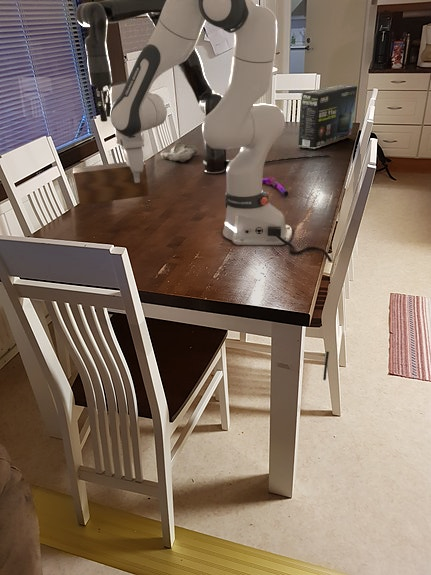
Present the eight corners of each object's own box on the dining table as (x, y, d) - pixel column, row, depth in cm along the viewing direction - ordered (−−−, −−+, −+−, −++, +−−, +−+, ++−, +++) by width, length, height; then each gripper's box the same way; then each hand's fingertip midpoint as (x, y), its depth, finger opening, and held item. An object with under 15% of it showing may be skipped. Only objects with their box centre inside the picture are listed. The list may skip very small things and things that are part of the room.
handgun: (255, 182, 193) (255, 177, 192) (273, 180, 195) (273, 175, 194) (269, 198, 176) (269, 193, 175) (289, 195, 177) (289, 191, 176)
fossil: (184, 156, 217) (163, 136, 220) (174, 174, 223) (154, 154, 227) (205, 153, 231) (186, 134, 234) (195, 171, 237) (176, 152, 240)
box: (146, 190, 159) (142, 159, 154) (148, 195, 154) (145, 164, 149) (79, 199, 154) (72, 168, 149) (79, 205, 149) (73, 173, 144)
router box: (314, 151, 231) (318, 94, 217) (296, 148, 237) (299, 92, 224) (352, 138, 251) (358, 85, 238) (335, 135, 258) (340, 83, 245)
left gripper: (94, 68, 165) (101, 115, 174) (83, 72, 153) (91, 123, 162) (114, 67, 165) (121, 114, 173) (105, 72, 153) (113, 122, 161)
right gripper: (116, 131, 154) (122, 171, 161) (123, 144, 137) (130, 189, 144) (135, 129, 155) (140, 169, 162) (144, 142, 138) (149, 186, 145)
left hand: (107, 118), depth 168 cm, fingers open, 8 cm apart
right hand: (135, 179), depth 153 cm, fingers closed on box, 6 cm apart
